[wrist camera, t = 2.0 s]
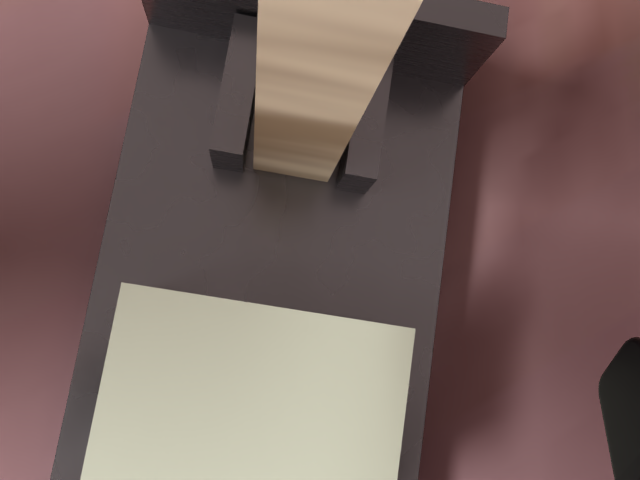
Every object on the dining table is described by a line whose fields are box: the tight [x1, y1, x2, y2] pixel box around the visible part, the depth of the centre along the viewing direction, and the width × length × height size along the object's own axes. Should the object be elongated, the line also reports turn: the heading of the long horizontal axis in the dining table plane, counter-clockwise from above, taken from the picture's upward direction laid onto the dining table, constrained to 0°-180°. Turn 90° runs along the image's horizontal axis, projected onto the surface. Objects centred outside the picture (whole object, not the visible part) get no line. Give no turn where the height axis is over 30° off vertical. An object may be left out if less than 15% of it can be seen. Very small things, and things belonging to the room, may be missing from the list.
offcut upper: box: [80, 282, 415, 480], centre depth 16 cm, size 5×8×2 cm, turn 81°
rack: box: [50, 0, 509, 480], centre depth 18 cm, size 18×11×5 cm, turn 172°
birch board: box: [253, 0, 423, 182], centre depth 15 cm, size 4×2×11 cm, turn 171°
